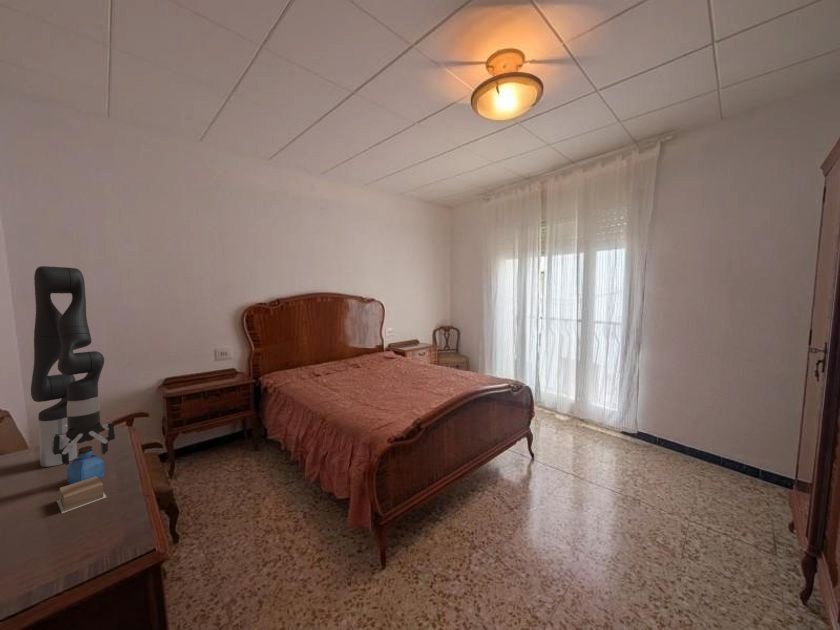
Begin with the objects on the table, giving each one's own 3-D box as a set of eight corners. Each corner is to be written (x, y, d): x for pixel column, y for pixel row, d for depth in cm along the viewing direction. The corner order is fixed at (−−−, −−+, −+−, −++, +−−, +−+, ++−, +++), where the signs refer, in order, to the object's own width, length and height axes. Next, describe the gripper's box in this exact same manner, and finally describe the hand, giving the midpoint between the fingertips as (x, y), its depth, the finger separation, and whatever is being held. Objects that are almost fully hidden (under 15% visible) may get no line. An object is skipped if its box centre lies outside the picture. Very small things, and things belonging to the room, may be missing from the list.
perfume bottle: (81, 489, 103) (80, 453, 103) (67, 486, 104) (66, 451, 104) (104, 478, 109) (103, 445, 109) (90, 476, 110) (89, 443, 110)
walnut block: (60, 500, 95) (59, 487, 95) (97, 488, 102) (97, 476, 102) (64, 511, 91) (64, 497, 91) (103, 497, 97) (103, 484, 97)
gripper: (110, 403, 113) (111, 447, 114) (49, 415, 102) (51, 464, 102) (115, 407, 109) (117, 453, 110) (53, 420, 97) (55, 471, 98)
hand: (85, 458), depth 106 cm, fingers open, 8 cm apart
